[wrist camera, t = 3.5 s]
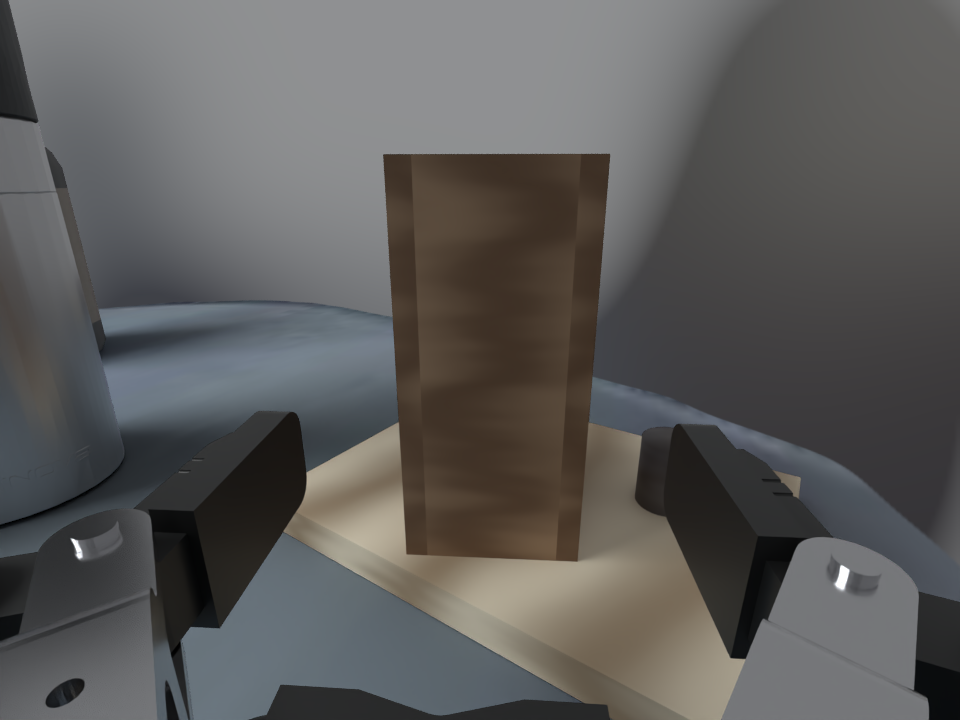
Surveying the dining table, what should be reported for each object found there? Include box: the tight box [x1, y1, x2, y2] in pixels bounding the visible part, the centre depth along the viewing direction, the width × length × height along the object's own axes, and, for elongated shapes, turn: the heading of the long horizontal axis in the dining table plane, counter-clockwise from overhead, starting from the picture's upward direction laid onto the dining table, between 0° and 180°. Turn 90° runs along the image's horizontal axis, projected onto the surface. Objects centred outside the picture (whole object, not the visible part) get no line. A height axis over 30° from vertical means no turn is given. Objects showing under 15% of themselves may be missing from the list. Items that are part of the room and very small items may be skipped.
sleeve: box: [383, 154, 610, 562], centre depth 20 cm, size 6×6×14 cm
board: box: [283, 422, 801, 720], centre depth 23 cm, size 20×15×4 cm
